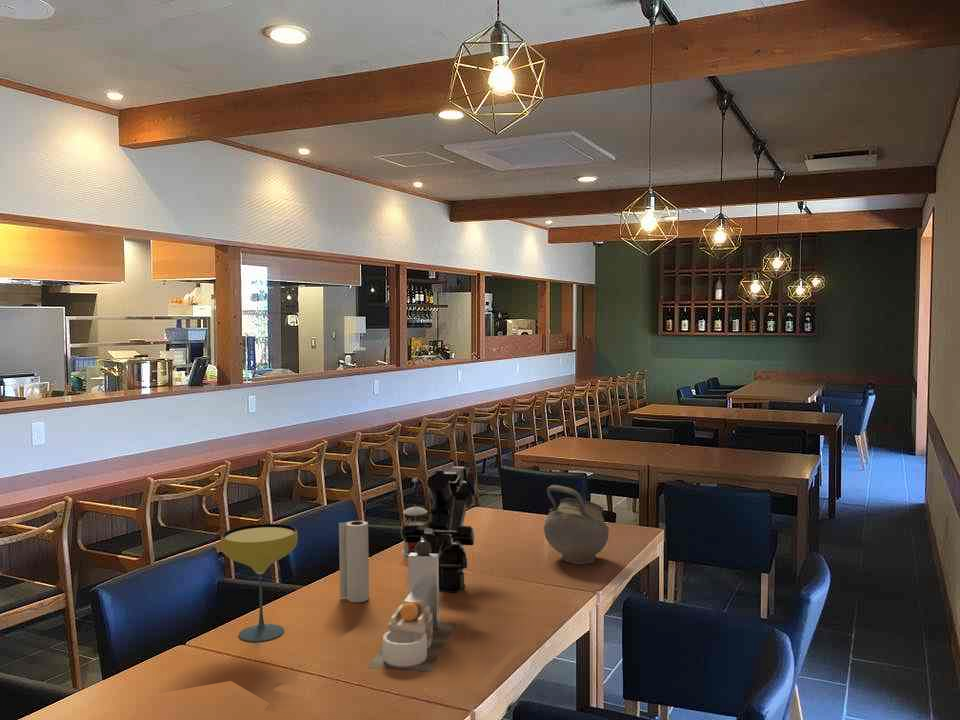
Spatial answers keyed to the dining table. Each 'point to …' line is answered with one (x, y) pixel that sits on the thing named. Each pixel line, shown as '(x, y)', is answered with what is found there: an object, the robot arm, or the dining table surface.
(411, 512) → the french press
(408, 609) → the ball
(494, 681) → the dining table surface
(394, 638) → the cup
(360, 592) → the paper towel roll
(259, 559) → the cocktail glass
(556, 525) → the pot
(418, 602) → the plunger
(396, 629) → the launcher
